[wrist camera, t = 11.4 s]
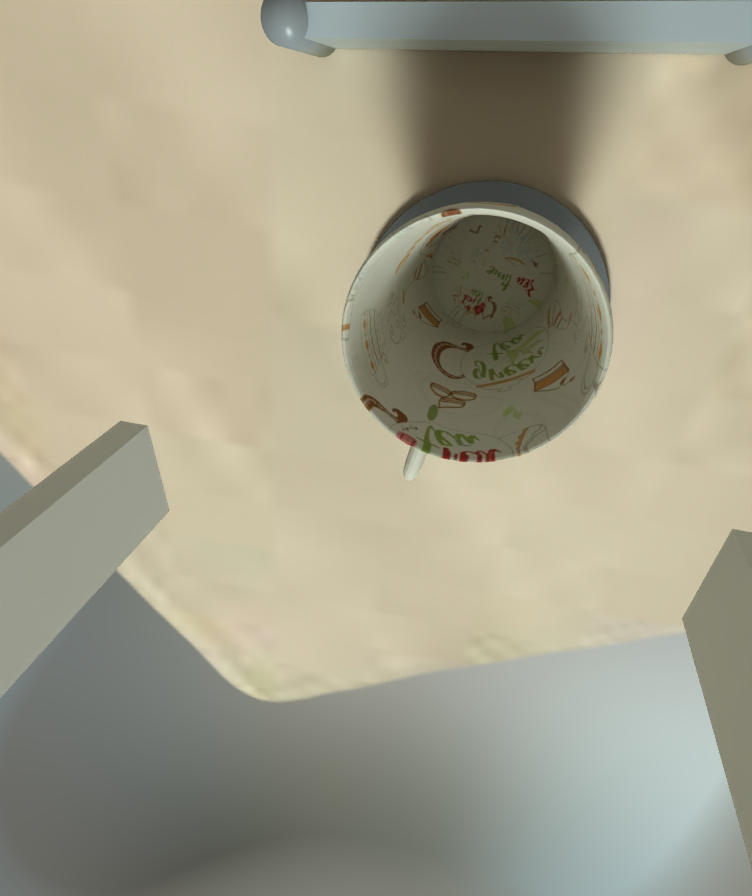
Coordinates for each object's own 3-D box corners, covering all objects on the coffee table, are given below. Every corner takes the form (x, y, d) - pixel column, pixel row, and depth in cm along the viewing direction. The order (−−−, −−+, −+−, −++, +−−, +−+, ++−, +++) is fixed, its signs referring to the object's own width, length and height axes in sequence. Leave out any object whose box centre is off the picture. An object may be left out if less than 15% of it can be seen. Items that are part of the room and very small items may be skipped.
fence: (302, 7, 21) (258, -12, 18) (785, 7, 18) (841, -18, 14) (303, 57, 22) (262, 46, 19) (764, 65, 19) (812, 54, 15)
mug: (623, 206, 22) (675, 260, 13) (508, 444, 29) (496, 574, 21) (434, 147, 22) (373, 164, 14) (367, 394, 29) (301, 501, 21)
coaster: (364, 172, 24) (362, 173, 23) (644, 190, 21) (645, 191, 21) (360, 403, 30) (358, 406, 30) (574, 437, 28) (574, 441, 28)
